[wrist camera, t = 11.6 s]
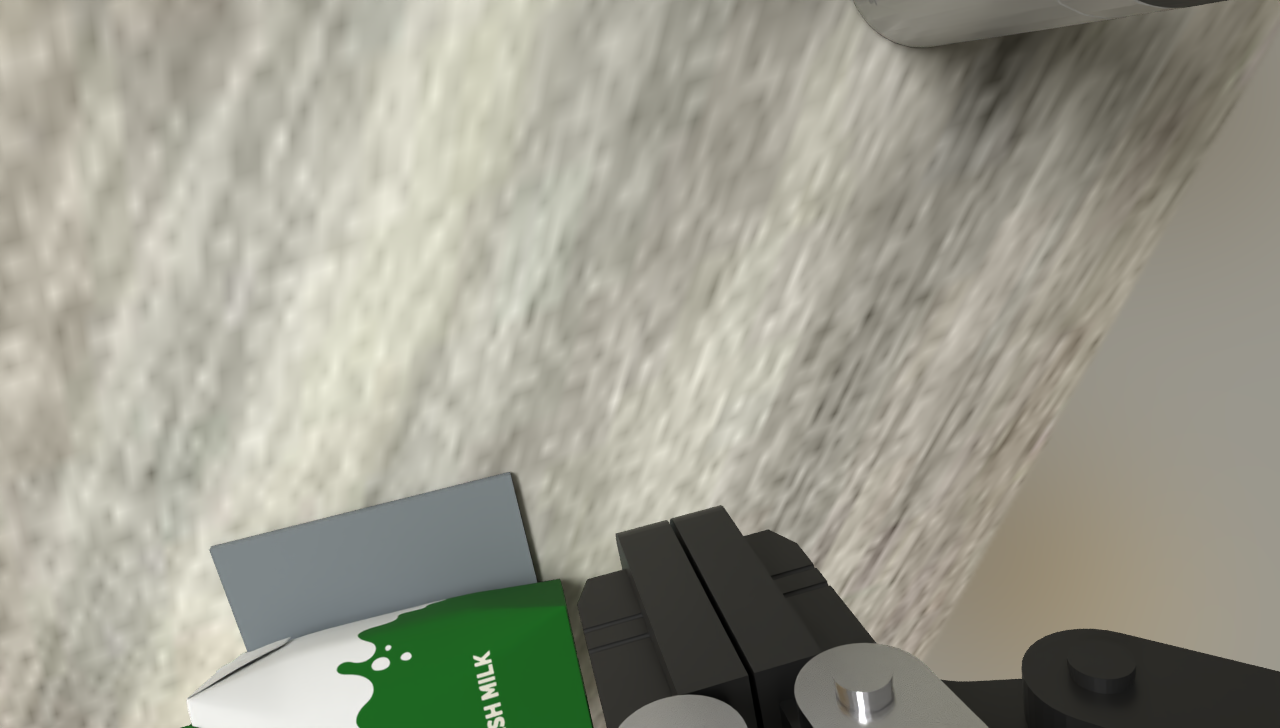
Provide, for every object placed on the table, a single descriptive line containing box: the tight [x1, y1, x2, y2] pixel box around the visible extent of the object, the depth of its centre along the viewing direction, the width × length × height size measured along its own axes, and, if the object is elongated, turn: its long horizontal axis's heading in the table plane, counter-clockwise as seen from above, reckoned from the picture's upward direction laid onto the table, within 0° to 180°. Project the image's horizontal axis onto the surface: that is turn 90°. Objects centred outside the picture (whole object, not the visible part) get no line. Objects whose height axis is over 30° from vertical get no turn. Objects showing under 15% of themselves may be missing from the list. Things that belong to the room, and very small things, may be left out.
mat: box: [210, 472, 537, 652], centre depth 49 cm, size 16×15×1 cm
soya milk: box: [182, 579, 593, 728], centre depth 45 cm, size 9×9×20 cm
